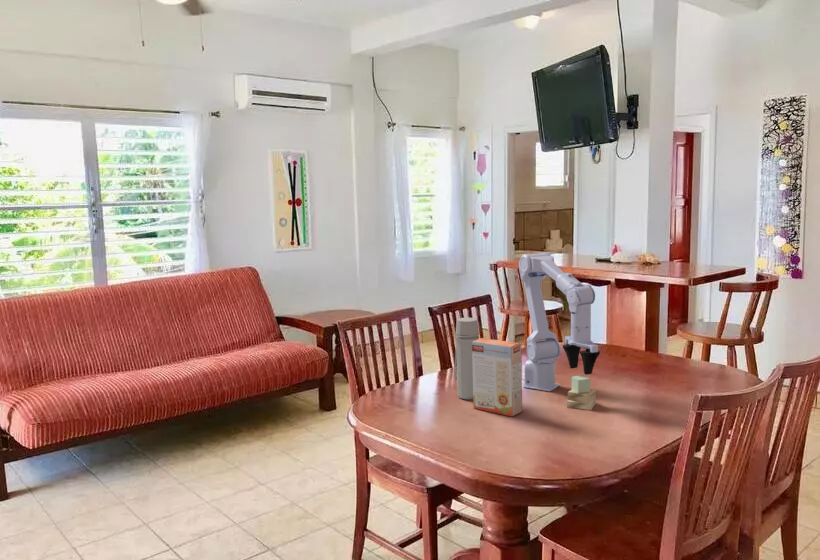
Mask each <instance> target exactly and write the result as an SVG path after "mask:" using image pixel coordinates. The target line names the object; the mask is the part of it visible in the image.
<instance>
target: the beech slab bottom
mask: <svg viewBox="0 0 820 560" xmlns="http://www.w3.org/2000/svg"><path fill="white" fill-rule="evenodd" d="M566 402H567V403H566V408H567V409H577V410H587V411H592V410H593V408H594V406H595V404H596V399H594V400H592V401H590V402H588V403H587V404H586V403H581V402H576V401H571V400H568V399H567V401H566Z"/></svg>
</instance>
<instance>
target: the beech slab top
mask: <svg viewBox="0 0 820 560" xmlns="http://www.w3.org/2000/svg"><path fill="white" fill-rule="evenodd" d="M596 394H597V393H596V390H593V389H591V388H590V392H584V393H577V392H575V391H573V390H572V389H570V390H569V391H567V401H568V400H571V401H576V402H581V403H586V404H587V403H588V402H590V401H592V400H594V399H595V400H596V396H597V395H596Z"/></svg>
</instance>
